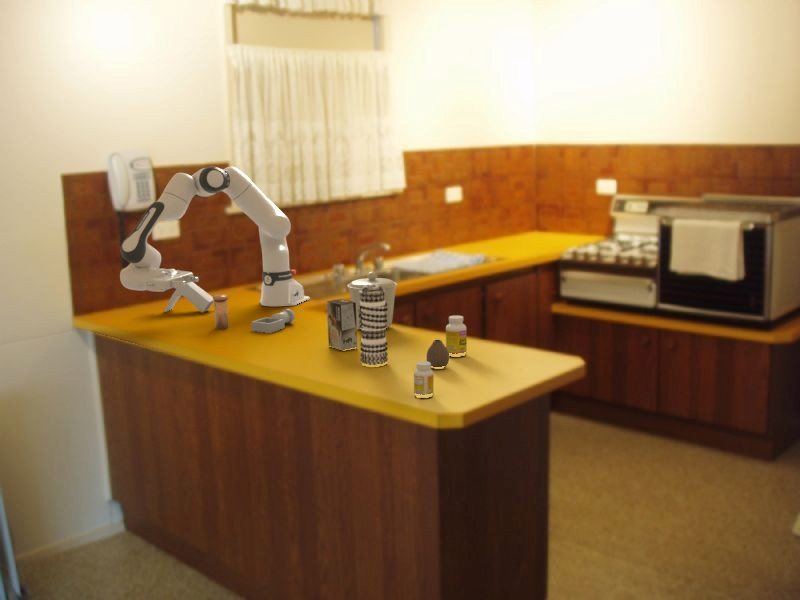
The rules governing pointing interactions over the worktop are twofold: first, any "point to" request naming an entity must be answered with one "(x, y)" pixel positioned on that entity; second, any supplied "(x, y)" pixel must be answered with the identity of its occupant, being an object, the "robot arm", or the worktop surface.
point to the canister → (373, 280)
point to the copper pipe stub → (221, 311)
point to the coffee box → (342, 324)
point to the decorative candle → (373, 325)
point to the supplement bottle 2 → (456, 335)
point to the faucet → (191, 297)
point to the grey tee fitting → (273, 322)
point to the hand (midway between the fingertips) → (191, 281)
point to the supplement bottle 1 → (423, 378)
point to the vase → (437, 354)
